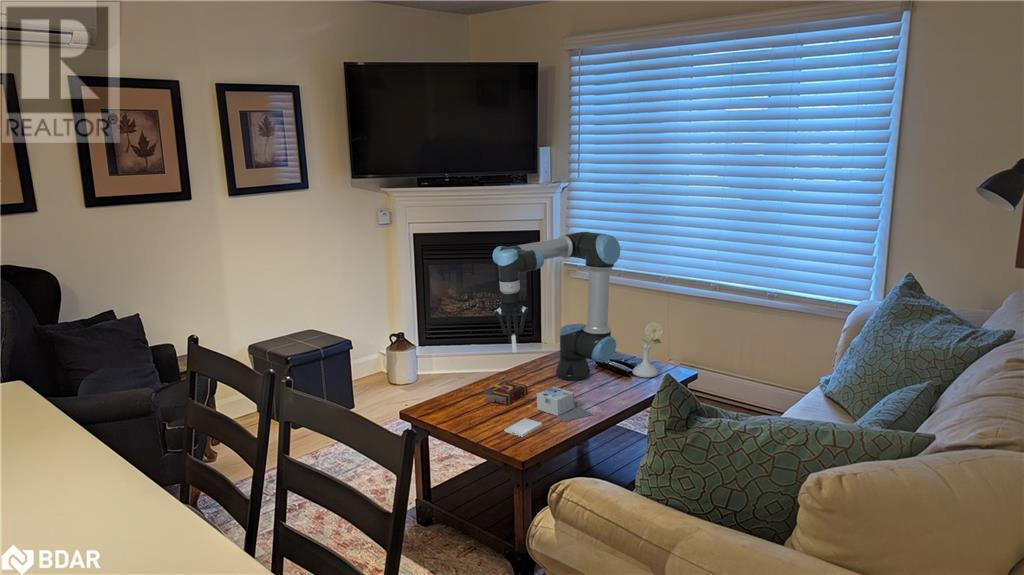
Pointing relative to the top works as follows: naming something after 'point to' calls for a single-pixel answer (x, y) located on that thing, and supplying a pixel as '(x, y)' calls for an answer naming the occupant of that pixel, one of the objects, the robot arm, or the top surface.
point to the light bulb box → (555, 401)
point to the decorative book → (505, 393)
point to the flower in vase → (645, 367)
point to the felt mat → (574, 414)
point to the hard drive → (523, 427)
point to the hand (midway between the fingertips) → (514, 351)
